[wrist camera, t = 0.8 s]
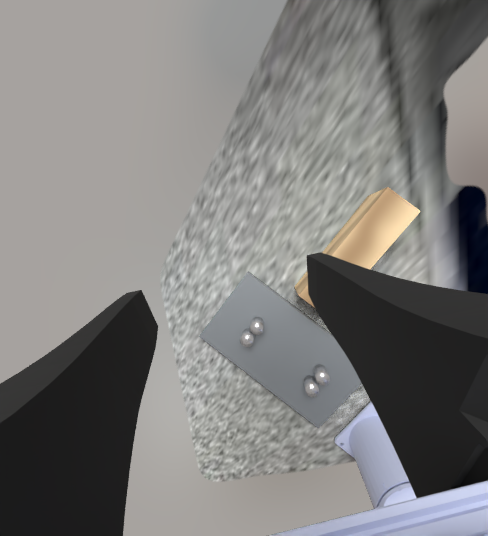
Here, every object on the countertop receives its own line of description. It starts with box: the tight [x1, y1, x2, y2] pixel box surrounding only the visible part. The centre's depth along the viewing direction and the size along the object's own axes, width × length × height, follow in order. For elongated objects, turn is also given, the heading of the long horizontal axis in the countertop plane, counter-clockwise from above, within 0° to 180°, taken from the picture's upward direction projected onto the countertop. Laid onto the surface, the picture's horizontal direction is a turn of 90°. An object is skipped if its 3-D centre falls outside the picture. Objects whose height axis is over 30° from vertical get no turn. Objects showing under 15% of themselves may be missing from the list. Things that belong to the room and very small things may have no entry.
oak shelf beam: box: [295, 187, 420, 308], centre depth 27 cm, size 4×14×5 cm, turn 143°
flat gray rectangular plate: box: [199, 271, 361, 428], centre depth 30 cm, size 20×11×3 cm, turn 54°
